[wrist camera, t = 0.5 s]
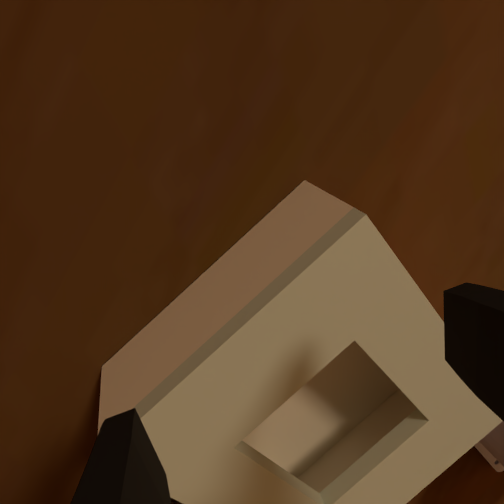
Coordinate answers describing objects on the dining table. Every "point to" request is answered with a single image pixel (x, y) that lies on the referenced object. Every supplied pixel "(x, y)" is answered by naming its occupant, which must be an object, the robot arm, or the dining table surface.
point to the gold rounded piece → (175, 501)
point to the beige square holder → (298, 370)
